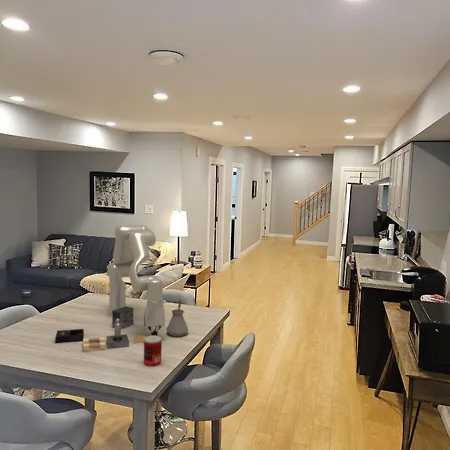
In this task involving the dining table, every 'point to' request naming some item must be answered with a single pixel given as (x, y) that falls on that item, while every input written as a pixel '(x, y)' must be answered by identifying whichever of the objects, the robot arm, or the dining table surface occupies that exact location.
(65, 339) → the battery charger
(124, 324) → the small box
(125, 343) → the socket
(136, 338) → the yellow rectangular block
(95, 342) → the frame
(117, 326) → the clear plastic bottle
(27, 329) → the dining table surface
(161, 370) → the dining table surface
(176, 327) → the coffee pot
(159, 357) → the canned food
